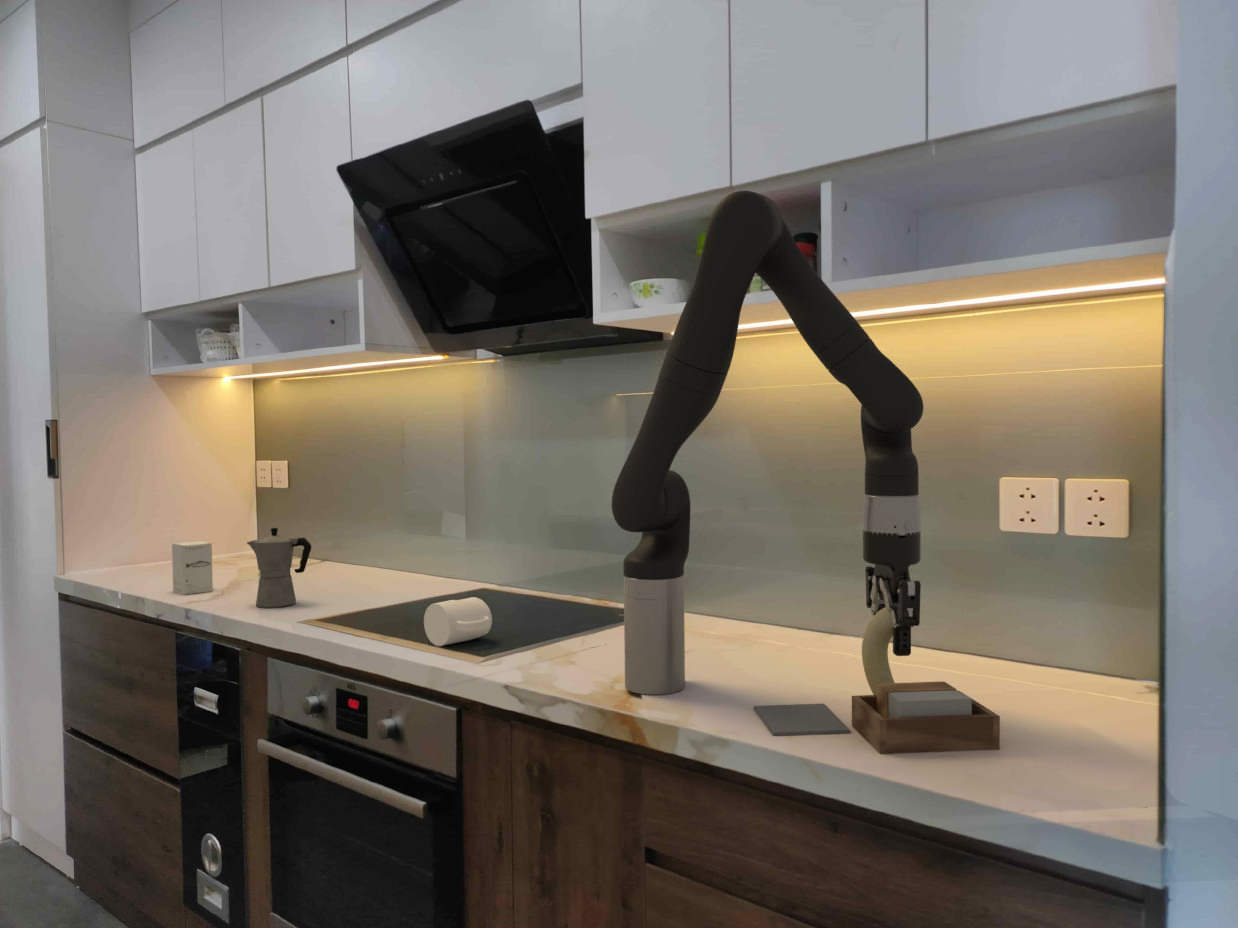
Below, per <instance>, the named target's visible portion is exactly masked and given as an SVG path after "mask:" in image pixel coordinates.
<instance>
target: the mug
mask: <svg viewBox="0 0 1238 928" xmlns="http://www.w3.org/2000/svg"><path fill="white" fill-rule="evenodd" d="M492 617H493V616H492V612H491V610H490V607H489V606H488V604H486V602H485V601H483V600H482V599H481V598H478V597H475V596H474V597H467V598H462V599H450V600H446V601H445V600H444V601H440V602H436V603H431V604H430V605H429V606H428V607H426V609H425V613H424V615H423V626H424V627H423V628H424V631H425V634H426V637H427V638H428V640H429V641H430V643H431V644H432V645H434V646H436V647H443V646H447V645H453V644H456V643H462V642H467V641H472V640H475V639H478V638H480V637H483V636H485V635H486V634H488V633H489V632H490V630H491V629H492V625H493V618H492Z"/></svg>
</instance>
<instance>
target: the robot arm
mask: <svg viewBox="0 0 1238 928" xmlns="http://www.w3.org/2000/svg"><path fill="white" fill-rule="evenodd" d="M697 267H698V268H697V271H696V274H695V278H694V282H693V284H692V288H691V290H690V293H689V295H688V298H687V300H686V302H685V305H684V307H683V310H682V311H681V314H680V317H679V320H678V321H677V324H676V326H675V328H674V332H673V335H672V338H671V340H670V341H669V345H668V348H667V350H666V353H665V355H664V359H663V361H662V364H661V368H660V371H659V374H658V377H657V381H656V384H655V387H654V389H653V393H652V396H651V399H650V401H649V404H648V406H647V409H646V411H645V414H644V417H643V419H642V423H641V425H640V428H639V430H638V434H637V436H636V438H635V440H634V442H633V444H632V447H631V448H630V452H629V453H628V455H627V458H626V460H625V461H624V464H623V466H622V468H621V470H620V473H619V475H618V477H617V479H616V480H615V481H616V482H615V484H614V487H613V491H612V497H611V511H612V515H613V519H614V521H615V522H616V524H617V525H618V526H619V528H620V529H622V530H624V531H626V532H631V533H641V539H640V540H639V543H638V544H637V546H636V547H635V548H634V549H633V550H632V551H631V552H629V553H628V554H627V555H626V556H625V558H624V560H623V564H622V565H623V568H622V569H623V610H624V611H623V614H624V615H623V620H624V622H623V623H624V624H623V625H624V626H623V630H624V634H623V635H624V637H623V638H624V687H625V689H626V690H627V691H629V692H631V693H636V694H641V695H656V696H657V695H668V694H669V695H670V694H675V693H677V692H680V691H682V690H683V689H685V688H686V667H685V666H686V650H685V649H686V648H685V647H686V645H685V644H686V643H685V642H686V641H685V640H686V639H685V632H686V631H685V564H686V561H687V560H688V559H687V558H688V556H689V551H690V537H691V536H690V535H691V534H690V533H691V497H690V496H691V495H690V491H689V488H688V485H687V483H686V481H685V480H684V478H683V477H682V476H681V475H680V474H679V473H677V472H676V471H674V470H671V466H672V464H673V462H674V459H675V457H676V455H677V454H678V452H679V451H680V449H681V448H682V446H683V445H684V444H685V442H686V441H687V440H688V439H689V438H690V437H691V435H693V433H694V432H695V431H696V429H698V427H699V426H700V425H701V424H702V423H703V422H704V420H705V419H707V417H708V415H709V414H710V413H711V412H712V410H713V409H714V407H715V405H716V404H717V401H718V399H719V398H720V395H721V392H722V389H723V387H724V384H725V381H726V379H727V376H728V372H729V371H730V368H731V364H732V361H733V356H734V353H735V348H736V342H737V337H738V330H739V324H740V323H739V322H740V318H741V311H742V308H743V304H744V300H745V298H746V296H747V293H748V291H749V288H750V286H751V283H752V282H753V279H754V278H755V275H757V276H758V277H760V279H762V281H763V282H764V283H765V284H766V285H767V286H768V287H769V289H770V290H771V291H772V293H774V294H775V296H776V298H777V299H778V300H779V301H780V303H781V305H782V306H783V307H784V309H785V311H786V313H787V314H788V315H789V317H790V319H791V322H792V323H793V324H794V326H795V327H796V329H797V331H798V333H799V334H800V336H801V337H802V339H803V340H804V342H805V343H806V344H807V346H808V347H809V348H810V350H811V351H812V352H813V354H814V355H815V356H816V357H817V359H818V360H819V362H821V364H822V365H823V366H824V368H825V369H826V370H828V372H829V373H830V375H831V376H832V377H833V378H834V379H835V380H836V381H837V382H838V383H841V384H842V385H844V386H845V387H846V388H847V389H848V390H849V391H850V392H851V393H852V395H854V397H855V398H856V399H857V401H858V402H859V403H860V404H861V406H860V426H861V427H860V428H861V436H862V445H863V450H864V461H865V465H864V500H863V508H862V559H863V561H864V562H866V563H868V564H872V565H871V566H869V565H867V566H865V595H866V596H865V597H866V598H865V601H866V607H867V609H870V613H871V616H873V617H874V616H875V614H876V613H877V612H878V611H880V610H881V609H883V608H885V607H886V610H887V611H888V612H890V613H891V617H892V622H893V626H894V627H893V636H892V652H893V655H894V656H897V657H908V656H910V655H911V654H912V628H914V627H918V626H920V622H921V621H920V620H921V593H922V592H921V582H920V580H911V577H910V576H911V575H910V569H909V567H910V566H913V565H917V564H918V563H920V562H921V556H922V555H921V553H922V552H921V548H922V547H921V542H922V541H921V539H922V538H921V534H922V533H921V529H922V527H921V516H922V515H921V506H920V500H919V499H920V498H919V493H920V492H919V491H920V490H919V486H920V485H919V478H920V477H919V463H918V460H917V459H918V458H917V457H916V455H915V453H914V452H913V446H912V445H913V444H912V443H913V442H912V429H913V428H914V427H916V426H917V424H918V423H919V422H920V420H921V419H922V416H923V413H924V401H923V397H922V395H921V393H920V391H919V390H918V388H917V386H916V385H915V384H914V382H912V381H911V379H910V378H909V377H908V376H907V375H906V374H905V373H904V372H903V371H902V370H901V369H900V368H899V367H898V366H897V365H896V364H895V363H894V362H892V361H893V360H891V359H890V358H889V357H887V356H886V355H885V354H884V353H883V352H882V351H881V350H880V349H879V348H878V347H877V345H876V344H875V342H874V341H873V339H872V338H871V337H870V336H869V334H868V333H867V332H866V331H865V330H864V328H863V327H862V326H861V324H860V323H859V322H858V321H857V320H856V318H855V317H854V316H853V314H851V312H850V311H849V309H847V307H846V306H845V305H844V304H843V303H842V302H841V300H840V299H839V298H838V297H837V295H836V294H835V293H834V292H833V291H832V290H831V288H829V286H828V285H827V284H826V282H824V281H823V280H822V278H821V277H820V276H819V274H818V273H817V272H816V271H815V268H813V266H812V265H811V264H810V263H809V260H808V259H807V258H806V256H805V255H804V253H803V252H802V251H801V249H800V247H799V245H798V244H797V242H796V240H795V238H794V237H793V235H792V233H791V231H790V230H789V227H788V225H787V224H786V221H785V220H784V218H783V216H782V213H781V211H780V209H779V207H778V205H777V204H776V203H775V202H774V201H773V200H772V199H770V198H769V197H767V196H766V195H764V194H761V193H758V192H755V191H751V190H737V191H734V192H732V193H729V194H727V195H726V196H724V197H723V198H721V200H720V201H719V202H718V203H717V204H716V206H715V208H713V210H712V212H711V215H710V217H709V220H708V224H707V228H706V233H705V237H704V242H703V246H702V250H701V255H700V259H699V262H698V266H697ZM912 610H913V615H912ZM897 611H898V613H897ZM905 612H906V617H905ZM873 617H872V618H873Z"/></svg>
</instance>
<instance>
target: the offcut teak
mask: <svg viewBox="0 0 1238 928" xmlns="http://www.w3.org/2000/svg"><path fill="white" fill-rule="evenodd" d="M953 690H958V689H957V688H955V687H954V686H952V685H951V684H949V683H948V682H946V681H922V682H921V681H919V682H918V681H916V682H915V681H913V682H912V681H911V682H895V683H882V684H877V713H879V714H880V715H881V716H882V717H883V718H889V693H893V692H923V691H953Z"/></svg>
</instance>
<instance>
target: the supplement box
mask: <svg viewBox="0 0 1238 928" xmlns="http://www.w3.org/2000/svg"><path fill="white" fill-rule="evenodd" d="M212 545H213V544H212V542H208V541H201V540H199V541H189V542H188V541H187V542H177V543H172V544H171V554H172V561H171V563H172V592H173V593H174V594H175V593H176V594H179V595H181V596H186V595H192V594H201V593H209V592H210V591H212V592H213V589H214V586H213V585H214V584H213V546H212Z"/></svg>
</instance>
